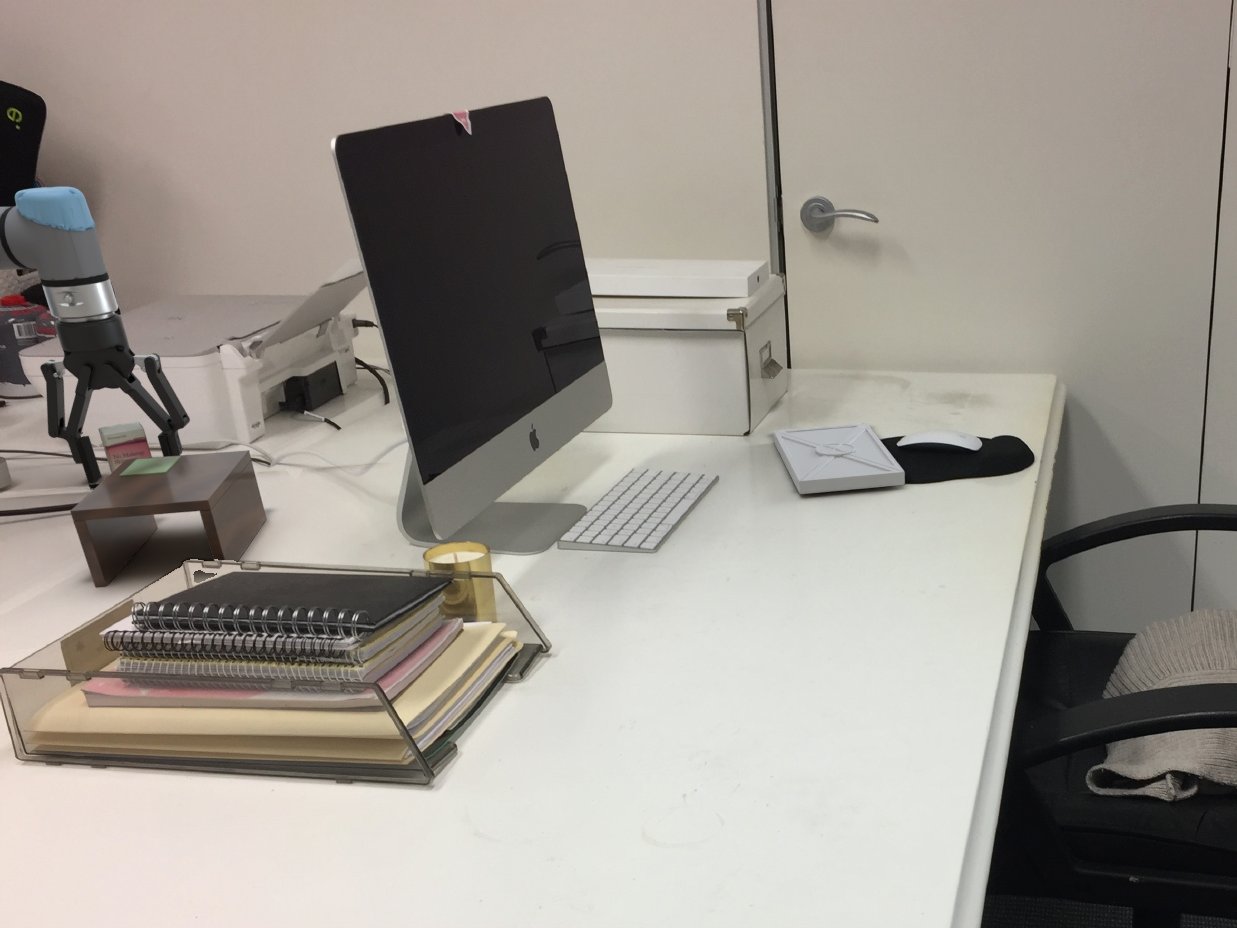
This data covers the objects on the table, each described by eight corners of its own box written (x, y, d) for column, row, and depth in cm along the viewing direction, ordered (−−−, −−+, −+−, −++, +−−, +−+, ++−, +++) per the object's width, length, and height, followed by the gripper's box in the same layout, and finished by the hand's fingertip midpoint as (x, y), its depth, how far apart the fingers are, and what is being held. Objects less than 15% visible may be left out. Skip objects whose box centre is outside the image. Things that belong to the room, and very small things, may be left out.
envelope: (867, 436, 181) (774, 444, 178) (866, 421, 180) (773, 429, 177) (904, 486, 159) (799, 496, 157) (904, 470, 158) (799, 479, 156)
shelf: (95, 587, 137) (69, 509, 133) (147, 529, 153) (125, 457, 149) (228, 575, 139) (207, 498, 135) (266, 519, 155) (248, 448, 151)
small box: (119, 491, 166) (101, 434, 162) (114, 483, 169) (96, 427, 165) (160, 483, 168) (144, 427, 165) (155, 475, 171) (138, 420, 168)
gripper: (-21, 327, 153) (38, 498, 163) (169, 316, 157) (215, 484, 167) (5, 315, 160) (59, 480, 170) (187, 304, 163) (230, 466, 173)
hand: (137, 482), depth 168 cm, fingers open, 9 cm apart
